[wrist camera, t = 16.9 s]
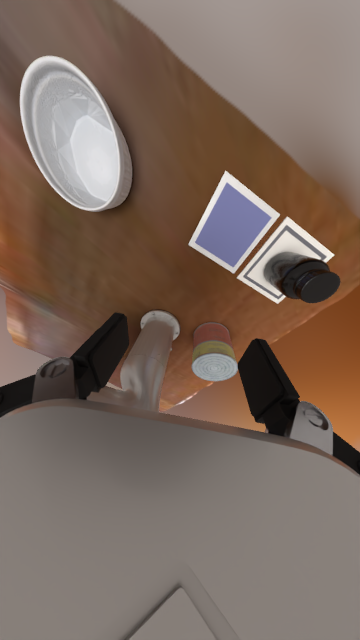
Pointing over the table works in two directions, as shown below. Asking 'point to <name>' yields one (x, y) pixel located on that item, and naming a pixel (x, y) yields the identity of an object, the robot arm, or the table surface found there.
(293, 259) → the supplement bottle
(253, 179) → the table surface
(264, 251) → the marked card
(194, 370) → the canned food
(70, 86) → the ramekin
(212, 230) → the ink pad
